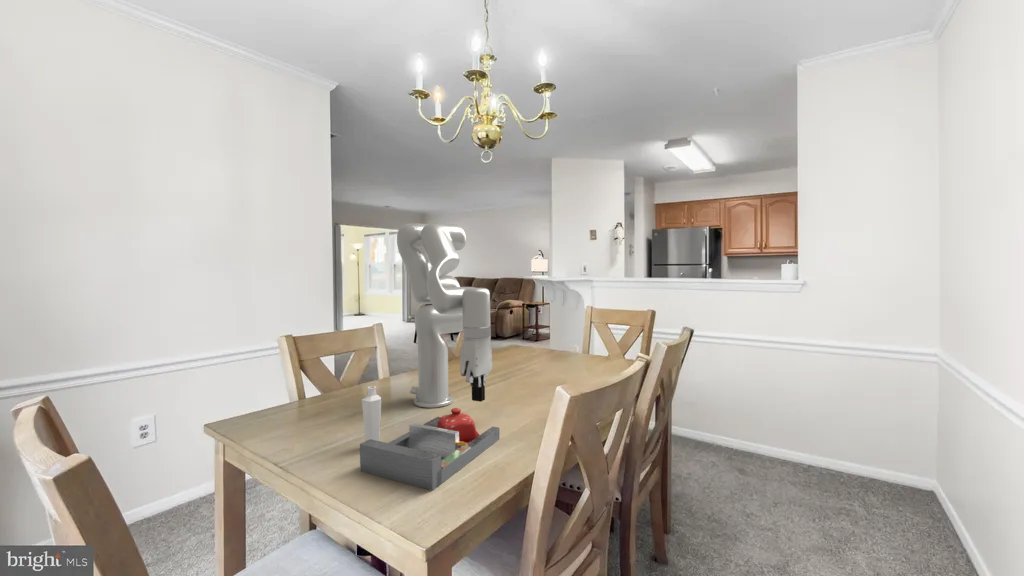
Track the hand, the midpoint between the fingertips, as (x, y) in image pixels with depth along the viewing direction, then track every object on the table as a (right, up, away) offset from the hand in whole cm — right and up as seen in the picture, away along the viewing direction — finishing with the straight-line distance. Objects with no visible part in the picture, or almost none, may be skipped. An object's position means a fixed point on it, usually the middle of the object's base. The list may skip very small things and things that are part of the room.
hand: (478, 400), depth 120 cm
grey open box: (-9, -8, -16) cm, 20 cm away
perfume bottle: (-25, -9, -13) cm, 29 cm away
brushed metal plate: (-8, -8, -18) cm, 21 cm away
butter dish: (-5, -9, -8) cm, 13 cm away
